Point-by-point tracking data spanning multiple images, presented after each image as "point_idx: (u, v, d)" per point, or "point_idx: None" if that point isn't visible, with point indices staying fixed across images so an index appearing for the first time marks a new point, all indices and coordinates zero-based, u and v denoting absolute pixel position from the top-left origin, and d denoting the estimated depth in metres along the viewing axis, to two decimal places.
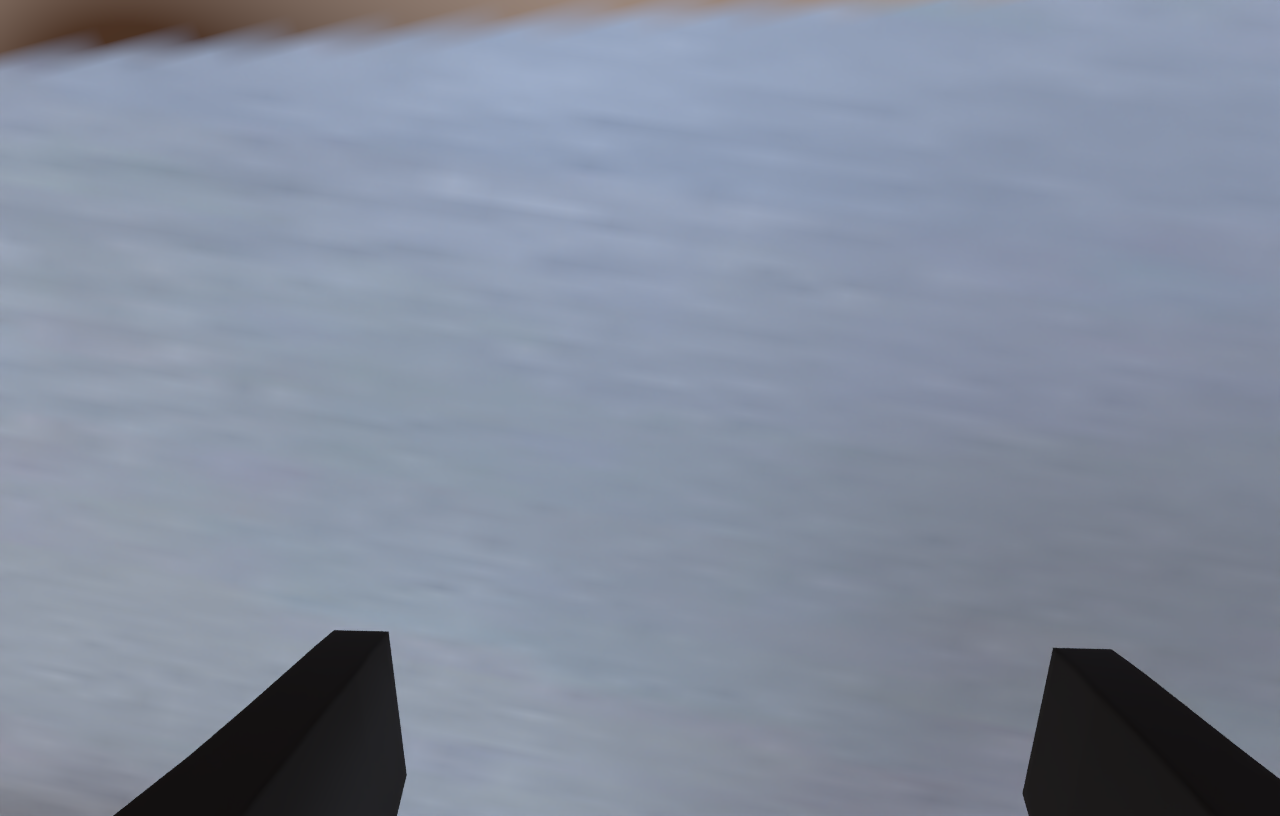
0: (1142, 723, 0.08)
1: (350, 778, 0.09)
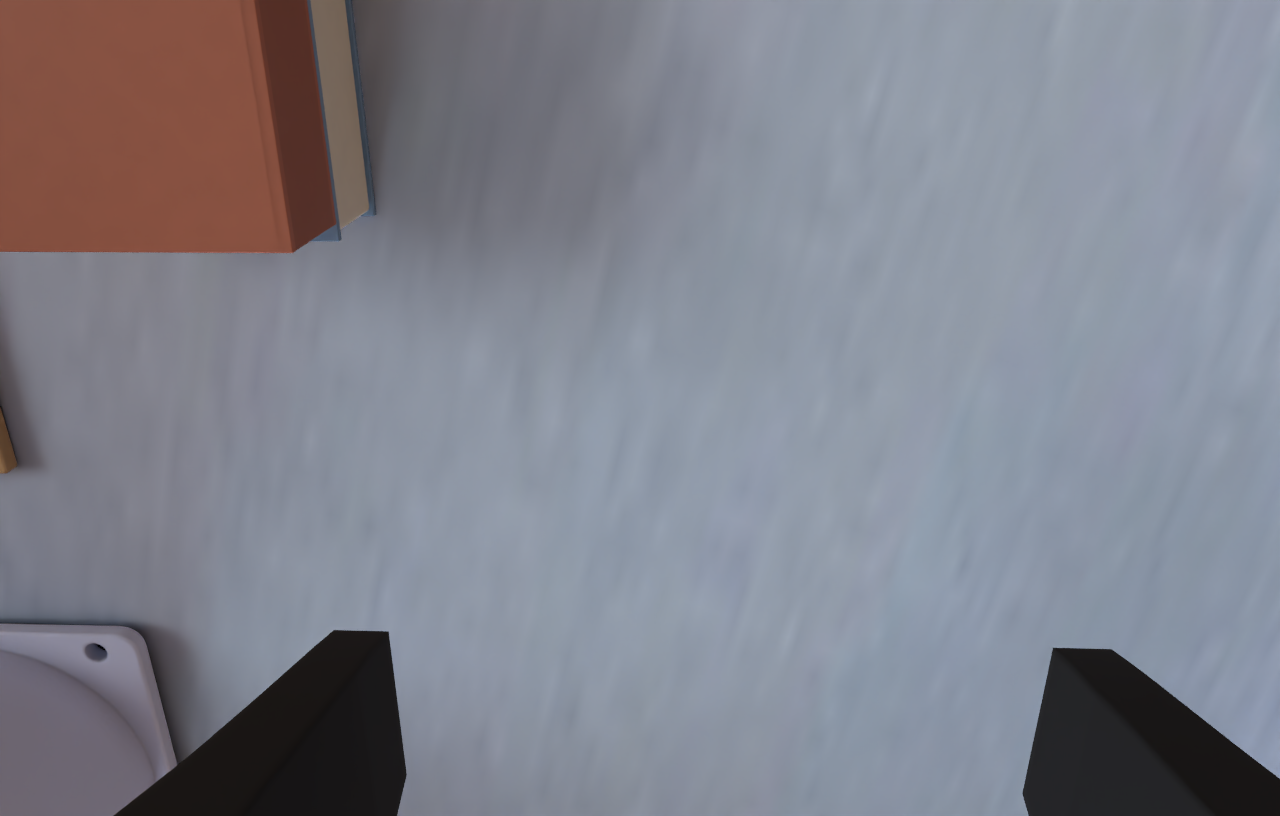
0: (1142, 723, 0.08)
1: (351, 777, 0.09)
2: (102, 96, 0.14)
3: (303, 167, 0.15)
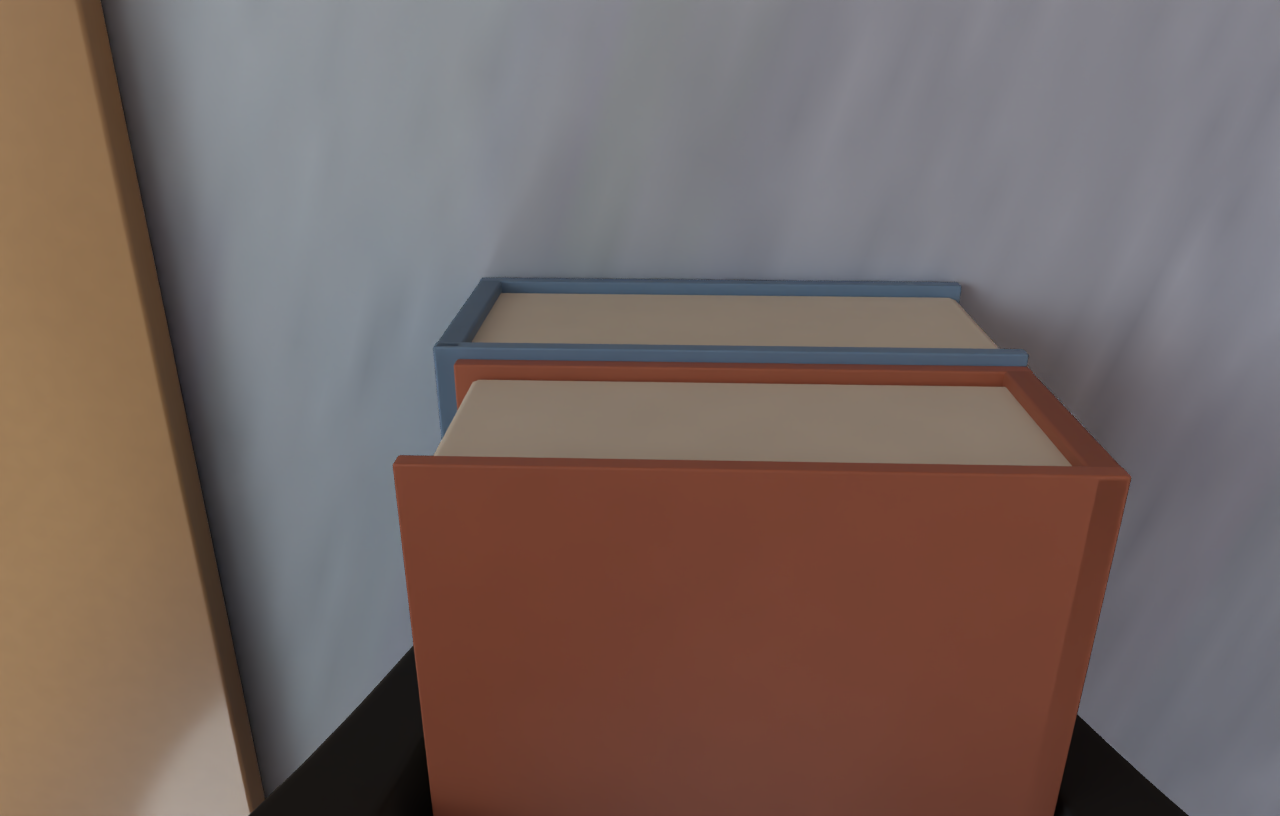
0: None
1: None
2: None
3: None
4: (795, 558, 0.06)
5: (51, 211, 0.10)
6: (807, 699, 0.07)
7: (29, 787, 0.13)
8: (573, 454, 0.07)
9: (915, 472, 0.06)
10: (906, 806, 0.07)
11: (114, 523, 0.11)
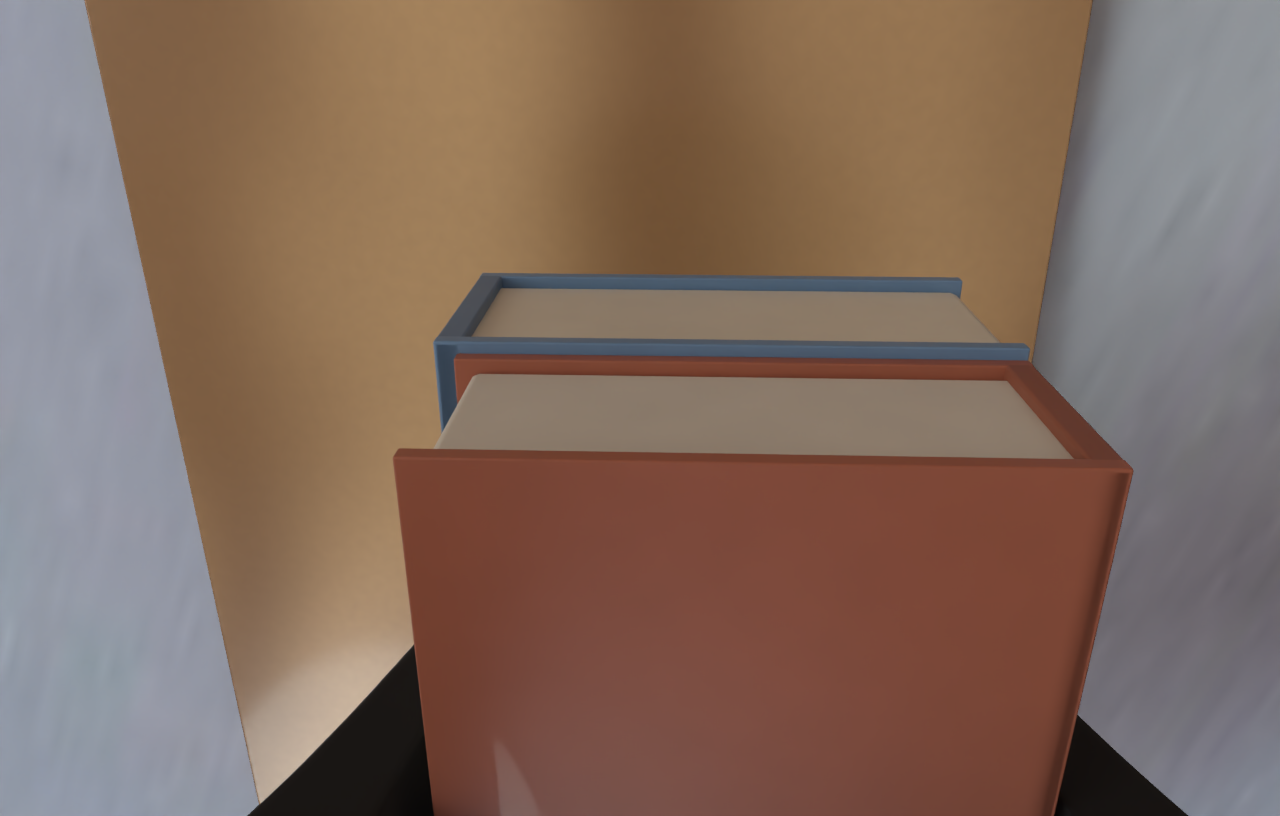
0: None
1: None
2: None
3: None
4: (796, 551, 0.06)
5: (1025, 127, 0.15)
6: (808, 693, 0.07)
7: None
8: (573, 447, 0.07)
9: (918, 465, 0.06)
10: (907, 801, 0.07)
11: None
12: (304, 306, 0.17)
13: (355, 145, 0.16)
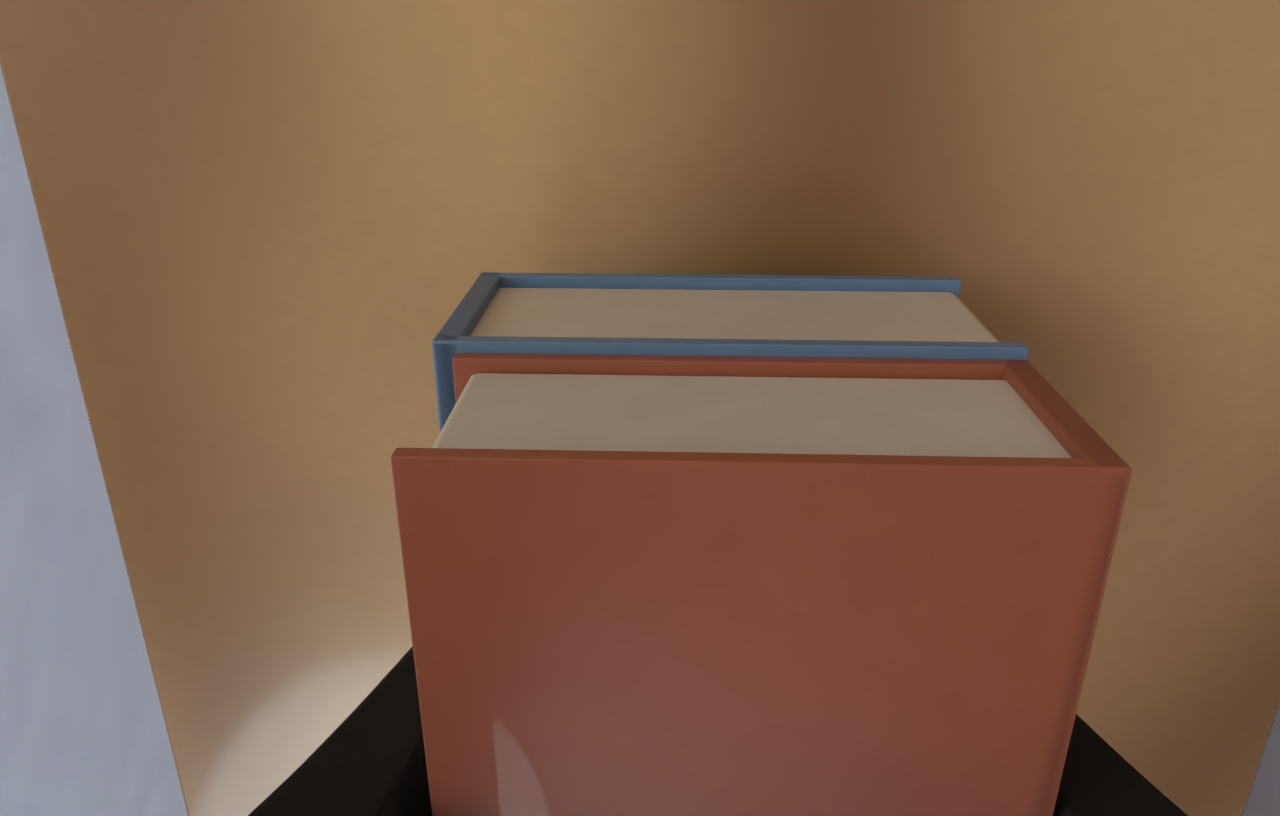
0: None
1: None
2: None
3: None
4: (794, 551, 0.06)
5: None
6: (806, 693, 0.07)
7: None
8: (572, 446, 0.07)
9: (915, 465, 0.06)
10: (906, 800, 0.07)
11: None
12: (309, 432, 0.12)
13: (384, 210, 0.11)
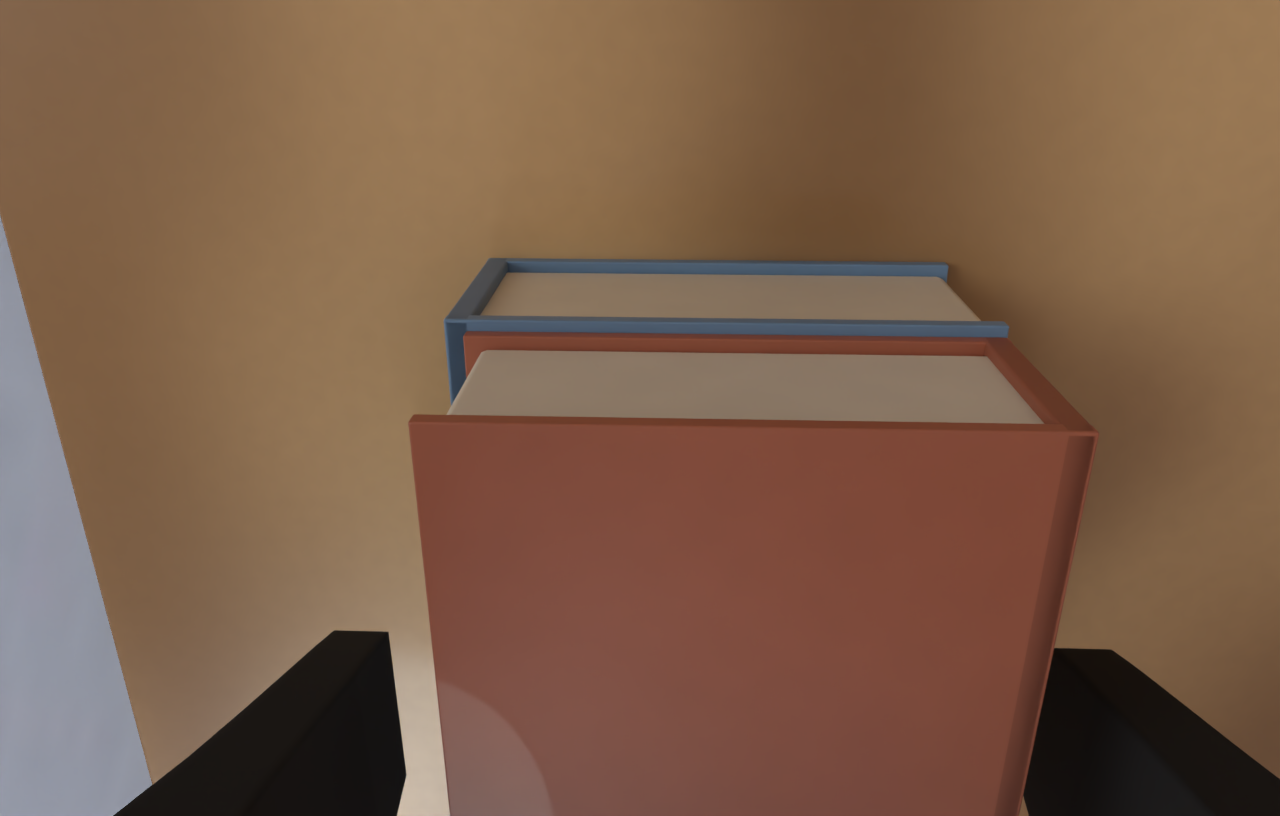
0: (1142, 723, 0.08)
1: (351, 778, 0.09)
2: None
3: None
4: (785, 511, 0.07)
5: None
6: (797, 647, 0.07)
7: None
8: (577, 414, 0.07)
9: (899, 430, 0.07)
10: (891, 751, 0.08)
11: None
12: (290, 451, 0.12)
13: (368, 219, 0.10)
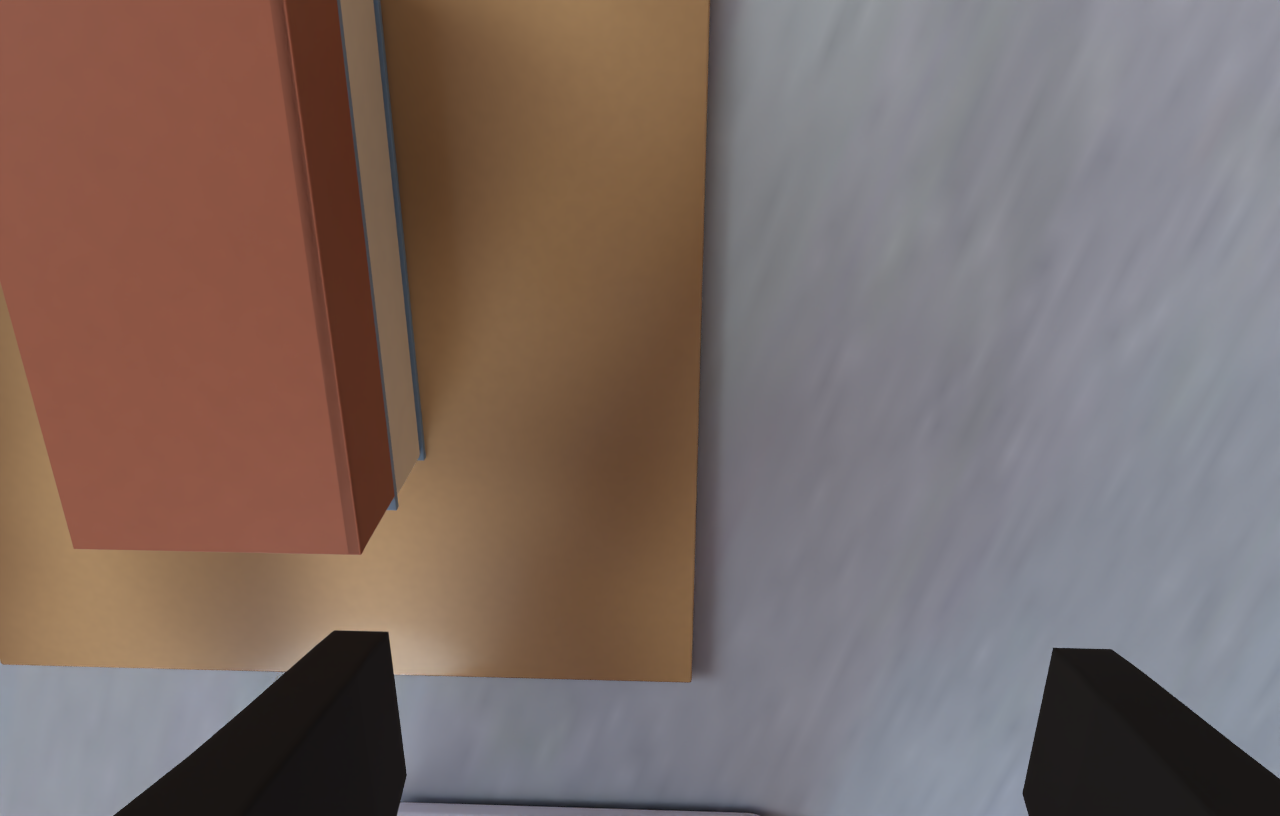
0: (1142, 723, 0.08)
1: (351, 777, 0.09)
2: (190, 427, 0.15)
3: (369, 468, 0.16)
4: (130, 32, 0.12)
5: None
6: (161, 126, 0.13)
7: (547, 369, 0.19)
8: None
9: None
10: (233, 201, 0.13)
11: (655, 155, 0.17)
12: None
13: None
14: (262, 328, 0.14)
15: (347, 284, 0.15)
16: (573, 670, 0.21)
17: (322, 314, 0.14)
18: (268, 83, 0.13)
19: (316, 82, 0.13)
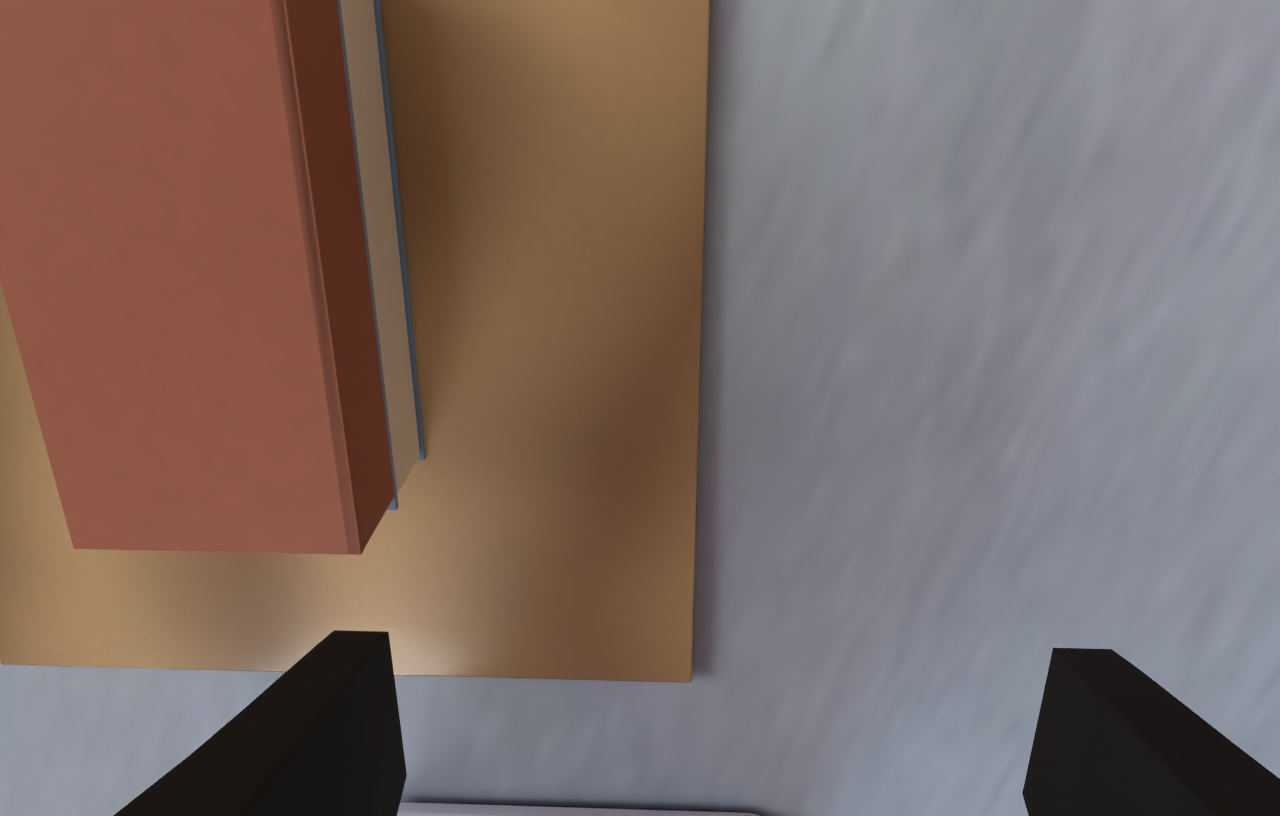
0: (1142, 723, 0.08)
1: (351, 777, 0.09)
2: (190, 427, 0.15)
3: (369, 468, 0.16)
4: (130, 32, 0.12)
5: None
6: (161, 126, 0.13)
7: (547, 369, 0.19)
8: None
9: None
10: (233, 201, 0.13)
11: (655, 155, 0.17)
12: None
13: None
14: (262, 328, 0.14)
15: (347, 284, 0.15)
16: (573, 670, 0.21)
17: (322, 314, 0.14)
18: (268, 83, 0.13)
19: (316, 82, 0.13)
